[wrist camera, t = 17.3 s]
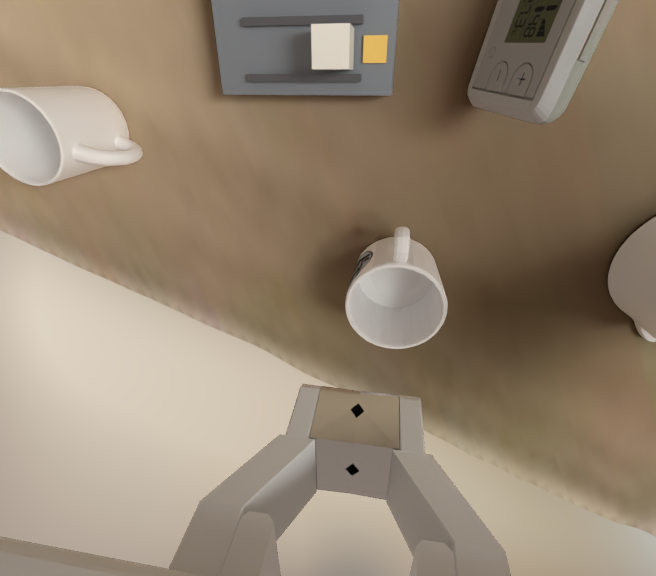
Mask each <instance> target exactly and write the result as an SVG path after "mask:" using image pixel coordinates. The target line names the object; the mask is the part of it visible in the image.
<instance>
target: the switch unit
mask: <svg viewBox="0 0 656 576" xmlns="http://www.w3.org/2000/svg"><path fill="white" fill-rule="evenodd" d="M211 3H212V11H213V19H214V27H215V35H216V43H217V51H218V59H219V67H220V75H221V83H222V91H223V95H376V96H392V89H393V76H394V63H395V49H396V36H397V22H398V9H399V0H211ZM329 23H350V24H351V25H352V26H353V27H354V62H353V70H314V69H312V51H311V24H329Z"/></svg>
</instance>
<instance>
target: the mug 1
mask: <svg viewBox="0 0 656 576" xmlns="http://www.w3.org/2000/svg"><path fill="white" fill-rule="evenodd" d="M142 155H143V152H142V149H141V147H140V146H139V145H138V144H137V143H135V142H134V141H132V140H130V139H129V130H128V126H127V123H126V120H125V118H124V116H123V114H122V112H121V111H120V109H119V108H118V106H117V105H116V104H115V103H114V102H113V101H112V100H111V99H110V98H109V97H108V96H106V95H105V94H104V93H102V92H100V91H99V90H96V89H94V88H91V87H86V86H44V87H8V88H0V168H1V169H2V170H3V171H5V172H6V173H7V174H8V175H10V176H11V177H13V178H15V179H16V180H18V181H20V182H23V183H25V184H29V185H34V186H45V185H48V184H52V183H55V182H58V181H61V180H64V179H68V178H71V177H74V176H77V175H80V174H84V173H87V172H90V171H93V170H97V169H100V168H103V167H106V166H120V165H127V164H131V163H134V162H137V161H138V160H140V159H141V157H142Z"/></svg>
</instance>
